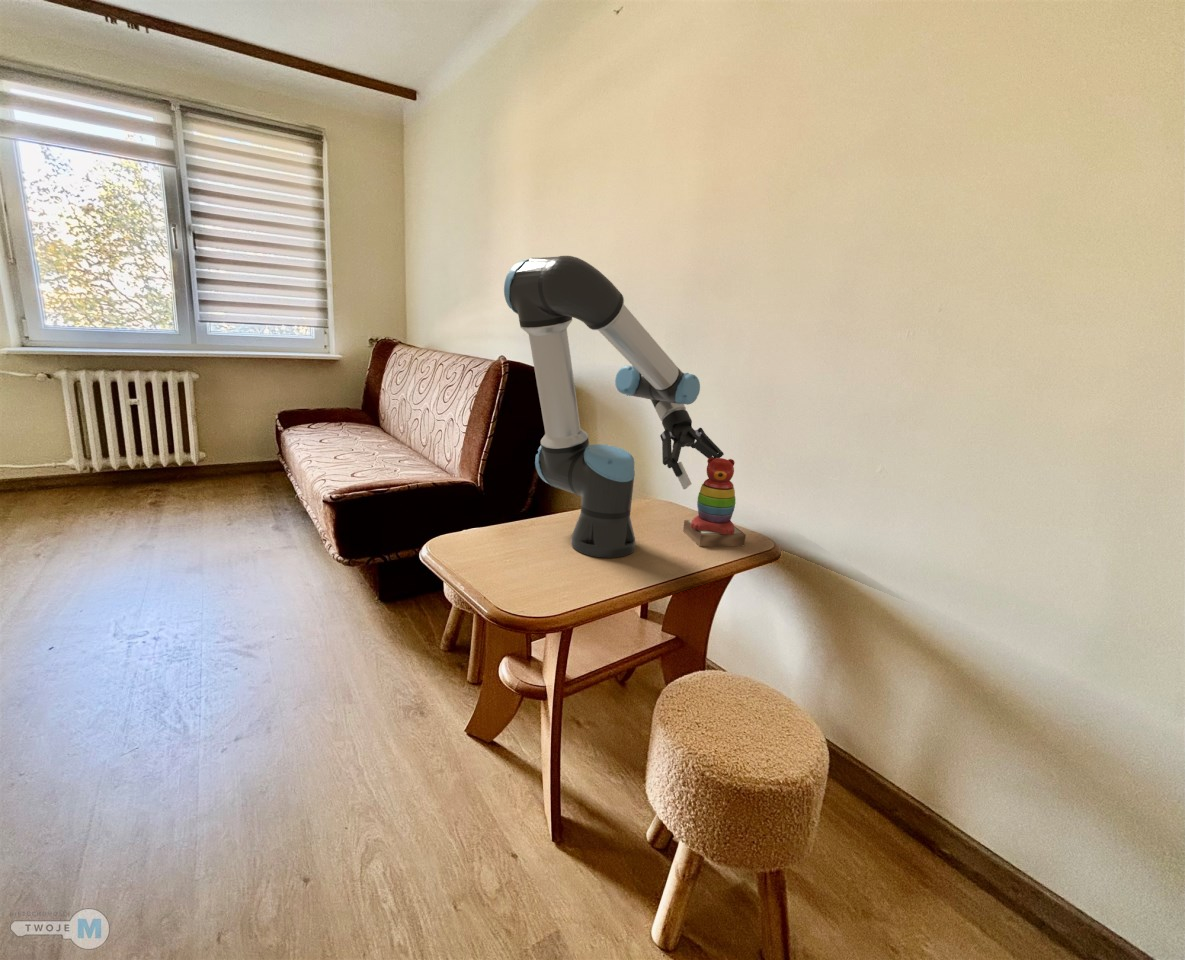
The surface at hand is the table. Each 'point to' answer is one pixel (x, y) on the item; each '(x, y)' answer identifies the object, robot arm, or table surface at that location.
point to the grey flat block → (713, 536)
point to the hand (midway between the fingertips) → (706, 484)
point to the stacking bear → (716, 498)
